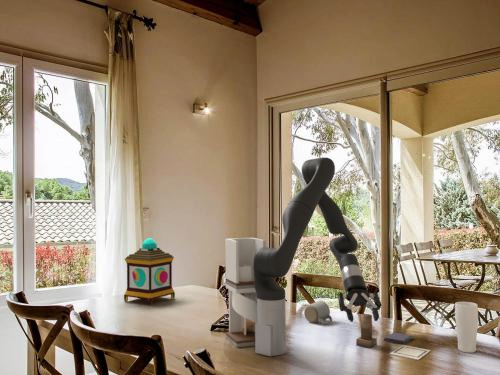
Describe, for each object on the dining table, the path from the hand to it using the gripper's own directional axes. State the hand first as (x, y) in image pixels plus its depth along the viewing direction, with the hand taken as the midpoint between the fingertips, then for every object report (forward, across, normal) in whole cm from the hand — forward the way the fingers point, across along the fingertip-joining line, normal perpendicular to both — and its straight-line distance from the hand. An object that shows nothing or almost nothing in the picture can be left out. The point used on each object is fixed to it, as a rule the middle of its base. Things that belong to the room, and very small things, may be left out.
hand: (364, 320), depth 167 cm
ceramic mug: (-16, -8, +27) cm, 32 cm away
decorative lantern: (-51, -79, +62) cm, 113 cm away
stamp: (+7, 0, +4) cm, 8 cm away
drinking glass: (+14, +30, -3) cm, 33 cm away
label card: (+14, +11, -3) cm, 18 cm away
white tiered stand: (0, -40, +11) cm, 41 cm away
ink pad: (+4, +13, +7) cm, 15 cm away
